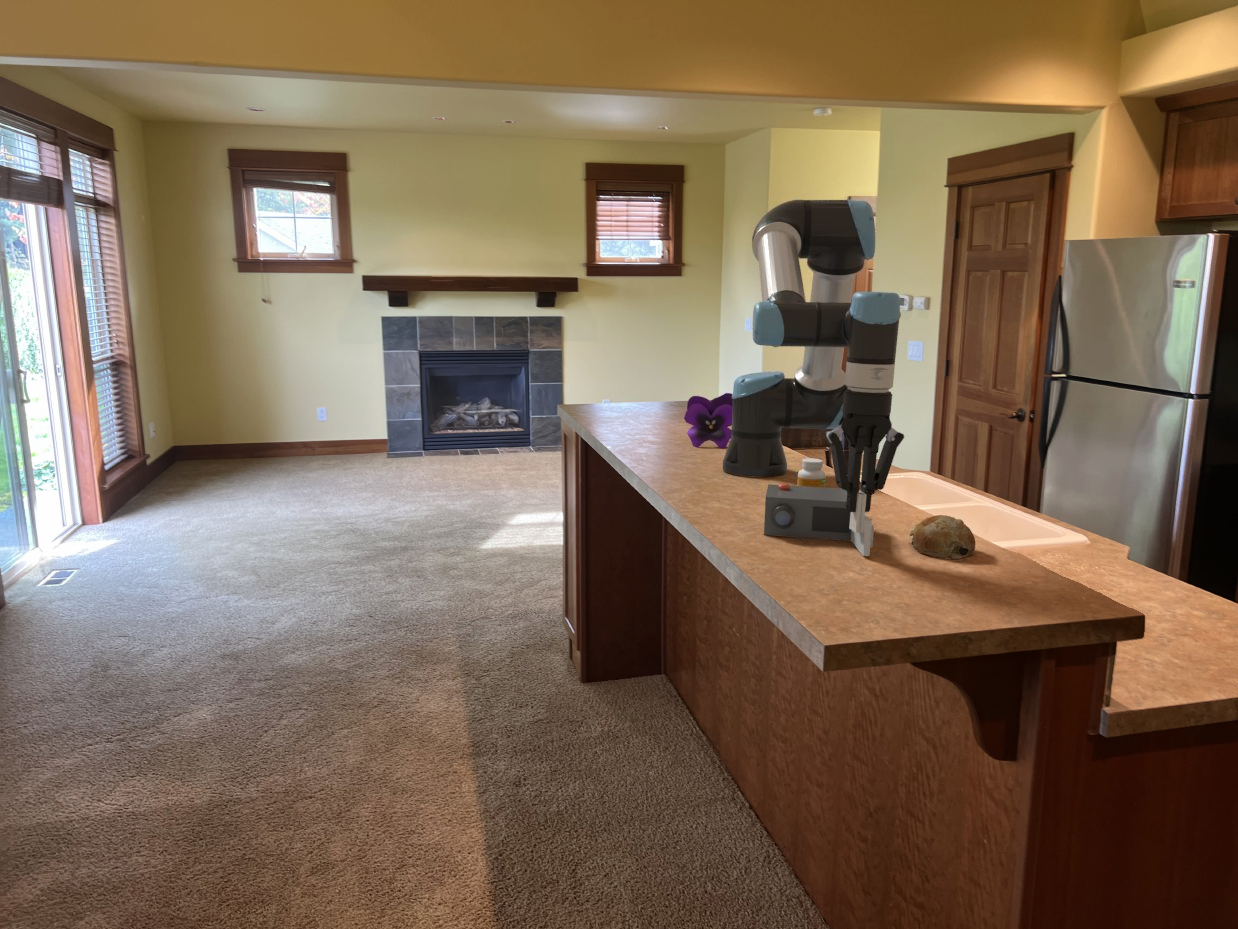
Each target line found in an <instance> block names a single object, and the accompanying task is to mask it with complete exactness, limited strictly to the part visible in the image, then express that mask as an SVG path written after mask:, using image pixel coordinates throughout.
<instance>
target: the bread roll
mask: <svg viewBox="0 0 1238 929" xmlns="http://www.w3.org/2000/svg"><path fill="white" fill-rule="evenodd" d="M908 536H909V537H912V540H911V543H910V544H911V545H912V547H913V549H914V550H915V551H916V550H917V552H918V553H920V554H921V553H922V554H921V555H926V556H929V557H932V556H933V557H932V558H937V557H939V558H938V559H945V558H952V559H951V560H959V559H963V558H967V557H968V556H971V555H973V553H974V552H975V549H976V538H975V535H974V533H973V531H972V530H971V529H970V527H968V525H966V524H965V522H964V520H962V519H960V518H955V517H954V516H950V515H944V514H940V515H934V516H930V517H927V518H925V519H923V520H921V521H920V522H919V523H917V524H916V525H915V528H914V529H912V530H911V531H910V533H908ZM966 556H967V557H966Z"/></svg>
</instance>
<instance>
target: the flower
mask: <svg viewBox="0 0 1238 929" xmlns="http://www.w3.org/2000/svg"><path fill="white" fill-rule="evenodd" d="M732 395H733V392H732V393H730V392H725V393H723V394H721V395H719V396H717V397H714V398H712V399H711V400H709V399H708V398H706V397H703V396H700V395H692V396H690V397H689V399H688V400H687V405H686V411H685V414H684V417H683V419H684V422H685V423H687V424H689V425H690V426H691V427H689V428H688V431H687V432H686V434H687V436H688V438H689V440H690V441H691V444H692V447H693V448H694V447H695V448H700V446H702V445H703V444H704V443H706V442H708V441H710V442H713V443H715V445H716V446H717V447H718V448H719V449H726V448H727V447H728V445H729V443H730V440H731V431H732V428H730V427H732V410H733V399H732Z"/></svg>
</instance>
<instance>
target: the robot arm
mask: <svg viewBox="0 0 1238 929" xmlns="http://www.w3.org/2000/svg"><path fill="white" fill-rule="evenodd" d="M874 216H875V214H874V211H873V207H872V205H871V204H870V203H869V202H868V201H867V200H866V201H865V200H856V199H855V200H853V199H850V198H847V199H793V200H788V201H785V202H783V203H780V204H778V205H777V206H775V207H772V208H771V209H770V210H769V211H768V212H766V213H765V214H764V215H763V216H762V217H761V219H760V220H759V221H758V223H757V224H756V225H755V228H754V230H753V232H752V237H751V247H752V248H751V249H752V253H753V256H754V258H755V259H756V260H757V262H758V268H759V278H760V279H759V281H760V290H761V291H760V292H761V299H762V301H758V302H757V303H755V305H754V306H753V311H752V328H751V329H752V340H753V343H754V344H755V345H758V346H766V347H773V348H778V347H803V348H804V351H803V359H802V360H803V362H802V365H800V366H799V367H797V369H796V370H795V374H794V377H792V378H791V377H789V378H787V377H785V376H786V375H785V373H784V371H783V372H782V371H762V372H761V371H760V372H754V373H753V372H752V373H748V374H742V375H740V376H738V377H737V378H736V379H734V382H733V388H732V390H733V391H732V394H733V395H732V399H733V410H732V426H731V430H732V431H731V439H730V440H729V442H728V444H727V447H726V448H727V449H726V451H725V454H724V456H723V459H722V471H723V472H725V473H727V474H729V475H730V474H731V475H735V476H738V477H739V476H741V477H750V478H770V477H771V478H772V477H779V476H783V475H785V474H787V472H788V461H787V458H786V454H785V451H784V447H783V442H782V429H814V430H816V429H818V430H819V429H820V430H821V431H824V430H826V431H825V432H824V437H825V439H826V440H827V442H828V443H829V447H830V452H831V458H832V465H833V471H834V472H833V473H834V476H835V482H836V486H837V487H838V488H840V489H843V490H846V491H847V502H846V509H847V510H848V511H849V512H851V513H850V525H849V529H851V530H852V531H854V532H855V533H863V525H864V518H865V514H866V513H869V512H870V510H871V506H872V505H871V504H872V495H873V496H874V494H875V493H876V491H878V490H879V491H881V490H883V489H884V487H885V485H886V481H887V479H888V476H889V472H890V469H891V467H892V464H893V462H894V459H895V458H894V457H895V455H896V452H897V449H898V447H899V446H900V445H901V443H902V441H903V440H904V439H905V435H904V433H902V432H899V431H897V430H896V429H895V428H894V427H892V426H893V423H892V421H891V419H890V418H891V416H890V415H891V412H892V411H891V410H892V402H893V401H892V399H893V393H892V392H891V391H890V390H891V389H892V388H893V387H894V381H895V380H894V379H895V369H896V368H895V367H896V357H897V356H896V354H897V348H898V347H897V345H898V336H899V335H898V334H899V326H900V319H901V316H902V315H901V297H900V294H898V293H897V292H885V291H856V292H854V293H853V290H854V284H855V276H856V275H857V274H859V273H860V272H862V271H863V270H864V266H865V260H866V261H869V260H871V259H872V260H873V259H874V257H875V250H876V226H875V217H874ZM800 259H806V260H807V261H806V265H807V267H808V268H809V269H810V271H812V273H813V274H812V280H811V281H812V282H811V290H810V299H809V301H806V300H807V299H806V296H805V295H806V294H805V289H804V283H803V277H802V270H801V265H800ZM845 348H847V356H846V366H845V371H844V370H843V369H842V365H843V359H844V353H845V352H844V351H845ZM843 436H844V438H845V439H846V440H847V442H848V445H847V446H848V447H847V448H848V462H847V463H848V464H847V465H846V459H845V453H844V452H845V451H844V447H843V444H842V441H843ZM884 438H885V441H884V443H883V445H882V449H881V452H880V455H879V457H878V461H877V455H878V453H879V450H880V443H881V442H882V440H883V439H884ZM846 466H847V467H846ZM860 489H861V490H860Z"/></svg>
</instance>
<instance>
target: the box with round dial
mask: <svg viewBox="0 0 1238 929" xmlns="http://www.w3.org/2000/svg"><path fill="white" fill-rule="evenodd" d="M846 502H847V491H846V490H843V489H842V488H840V487H838V488H837V487H835V488H834V487H825V488H822V487H805V486H797V485H790V484H789V483H779V484H768V485H767V489H766V494H765V505H764V523H763V524H764V527H763V535H764V536H772V537H773V536H775V537H790V538H791V537H792V538H801V539H803V538H804V539H819V540H831V541H832V540H833V541H849V542H851V529H849V525H850V513H851V512H849V511H848V510H847V509H846Z"/></svg>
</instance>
